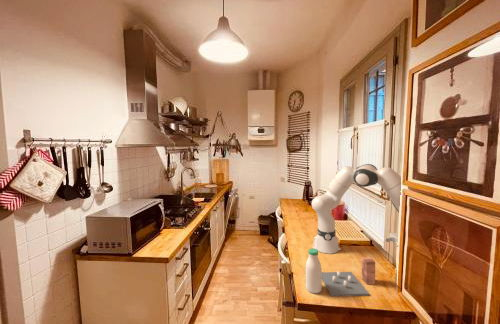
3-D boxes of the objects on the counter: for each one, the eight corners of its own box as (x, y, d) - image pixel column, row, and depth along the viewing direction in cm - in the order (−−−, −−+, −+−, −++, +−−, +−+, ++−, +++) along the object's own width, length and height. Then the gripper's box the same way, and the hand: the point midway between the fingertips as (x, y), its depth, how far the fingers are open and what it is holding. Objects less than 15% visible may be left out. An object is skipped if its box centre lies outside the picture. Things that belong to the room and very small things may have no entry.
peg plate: (319, 274, 118) (319, 267, 117) (351, 273, 118) (351, 266, 117) (331, 296, 100) (331, 288, 100) (369, 295, 100) (369, 287, 99)
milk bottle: (324, 292, 103) (324, 252, 102) (311, 295, 101) (310, 255, 100) (315, 282, 110) (315, 245, 109) (302, 285, 108) (302, 248, 107)
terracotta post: (361, 279, 112) (361, 257, 112) (370, 279, 112) (370, 257, 112) (366, 284, 108) (366, 261, 107) (375, 284, 108) (375, 261, 107)
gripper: (403, 229, 119) (379, 230, 119) (435, 245, 98) (405, 246, 99) (403, 240, 119) (379, 241, 119) (435, 258, 99) (405, 259, 99)
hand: (391, 243), depth 109 cm, fingers open, 8 cm apart
